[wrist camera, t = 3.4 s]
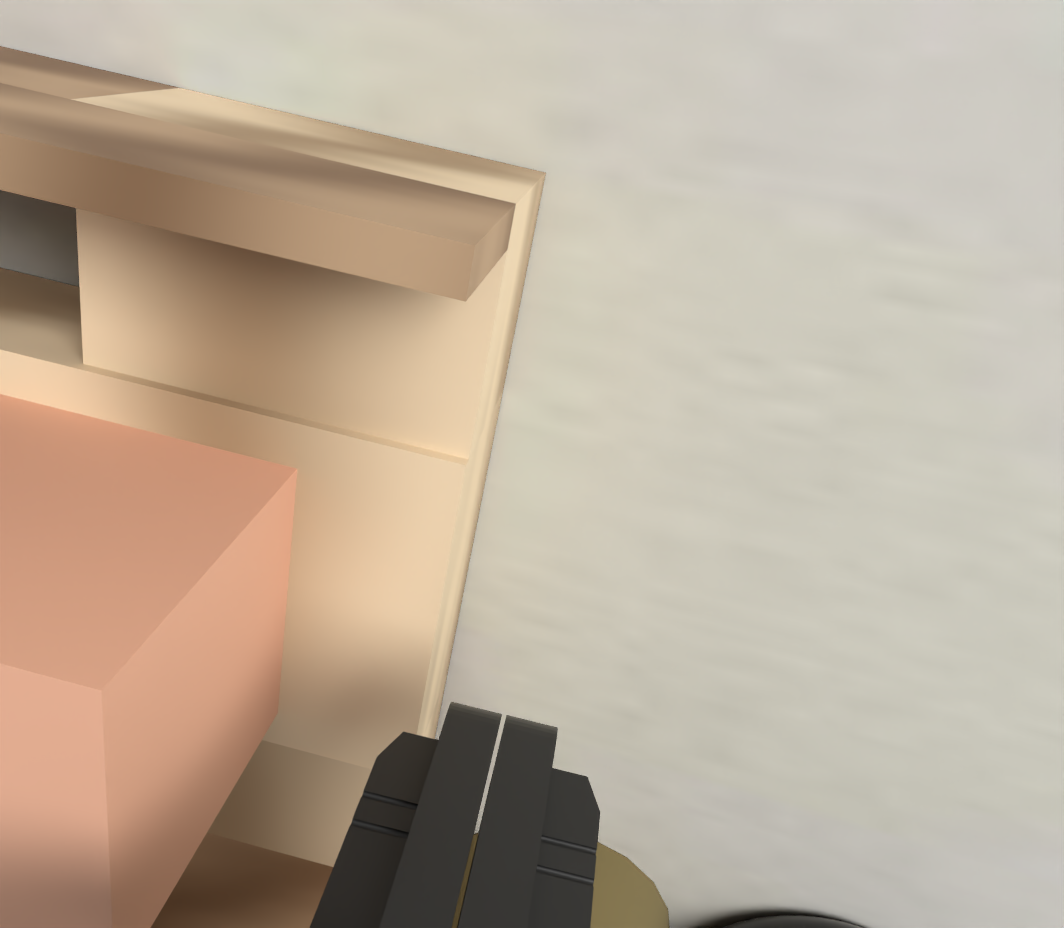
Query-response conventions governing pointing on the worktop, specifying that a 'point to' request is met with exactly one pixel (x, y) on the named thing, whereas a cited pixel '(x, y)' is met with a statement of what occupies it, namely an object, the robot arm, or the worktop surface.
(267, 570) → the block
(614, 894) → the cork
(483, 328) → the wooden organizer box
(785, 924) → the supplement bottle
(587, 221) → the worktop surface
